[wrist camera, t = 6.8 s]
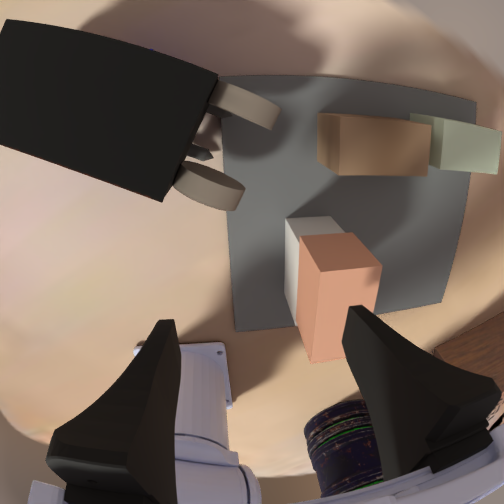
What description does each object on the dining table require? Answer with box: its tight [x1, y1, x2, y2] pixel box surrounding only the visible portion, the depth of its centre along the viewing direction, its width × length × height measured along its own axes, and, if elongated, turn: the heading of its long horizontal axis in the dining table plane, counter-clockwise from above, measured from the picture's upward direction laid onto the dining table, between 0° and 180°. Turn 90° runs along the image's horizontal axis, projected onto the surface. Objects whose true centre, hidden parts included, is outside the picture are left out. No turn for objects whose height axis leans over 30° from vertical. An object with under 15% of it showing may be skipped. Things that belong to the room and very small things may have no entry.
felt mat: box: [219, 75, 476, 332], centre depth 22 cm, size 19×20×1 cm
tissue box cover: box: [434, 312, 504, 433], centre depth 32 cm, size 26×14×10 cm, turn 15°
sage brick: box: [410, 113, 502, 174], centre depth 18 cm, size 6×3×4 cm, turn 92°
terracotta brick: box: [296, 232, 382, 364], centre depth 18 cm, size 6×3×4 cm, turn 2°
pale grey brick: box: [284, 216, 345, 326], centre depth 21 cm, size 6×3×4 cm, turn 2°
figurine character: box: [0, 19, 282, 211], centre depth 14 cm, size 7×8×15 cm
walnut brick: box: [317, 113, 432, 177], centre depth 18 cm, size 6×3×4 cm, turn 92°
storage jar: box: [304, 400, 384, 498], centre depth 28 cm, size 10×10×15 cm
